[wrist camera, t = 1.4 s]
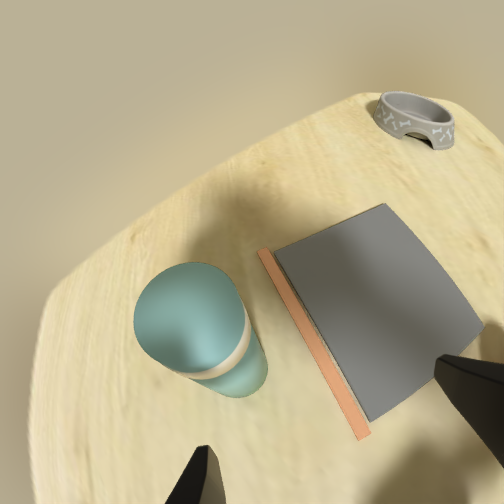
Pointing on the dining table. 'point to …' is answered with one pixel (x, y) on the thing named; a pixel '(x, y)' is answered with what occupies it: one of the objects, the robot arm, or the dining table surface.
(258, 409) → the dining table surface
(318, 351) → the orange strip
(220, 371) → the teal cylinder
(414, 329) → the mat
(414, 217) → the dining table surface
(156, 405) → the dining table surface
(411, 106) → the dog bowl
